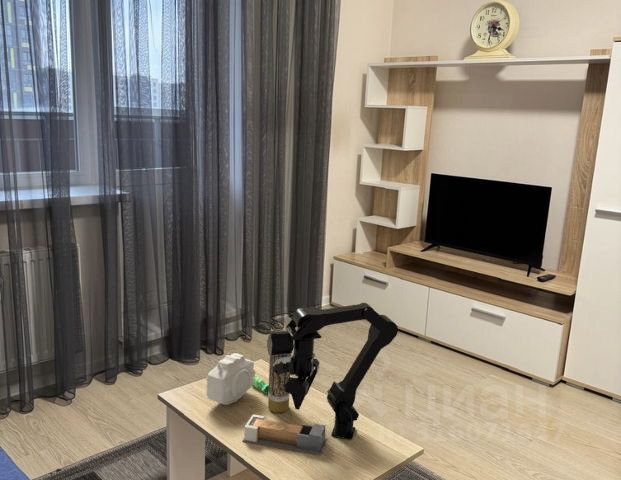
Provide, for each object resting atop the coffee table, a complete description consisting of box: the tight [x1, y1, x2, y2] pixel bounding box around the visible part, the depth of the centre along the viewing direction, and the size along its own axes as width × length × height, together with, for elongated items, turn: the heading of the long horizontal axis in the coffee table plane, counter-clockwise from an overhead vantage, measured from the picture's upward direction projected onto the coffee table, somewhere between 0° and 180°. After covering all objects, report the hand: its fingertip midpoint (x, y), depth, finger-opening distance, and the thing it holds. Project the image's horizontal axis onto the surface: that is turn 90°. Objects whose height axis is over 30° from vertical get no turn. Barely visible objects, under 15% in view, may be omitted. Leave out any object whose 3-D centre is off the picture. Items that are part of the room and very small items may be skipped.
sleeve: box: [297, 423, 326, 452], centre depth 171 cm, size 6×7×5 cm
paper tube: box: [267, 353, 292, 414], centre depth 189 cm, size 7×7×25 cm
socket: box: [243, 413, 265, 442], centre depth 175 cm, size 7×4×4 cm, turn 167°
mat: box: [242, 438, 327, 457], centre depth 173 cm, size 8×24×1 cm, turn 77°
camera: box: [206, 353, 256, 406], centre depth 193 cm, size 11×18×16 cm, turn 148°
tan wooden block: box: [250, 418, 303, 445], centre depth 173 cm, size 4×15×4 cm, turn 77°
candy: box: [253, 376, 269, 395], centre depth 205 cm, size 12×3×4 cm
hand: (301, 401), depth 172 cm, fingers open, 9 cm apart
